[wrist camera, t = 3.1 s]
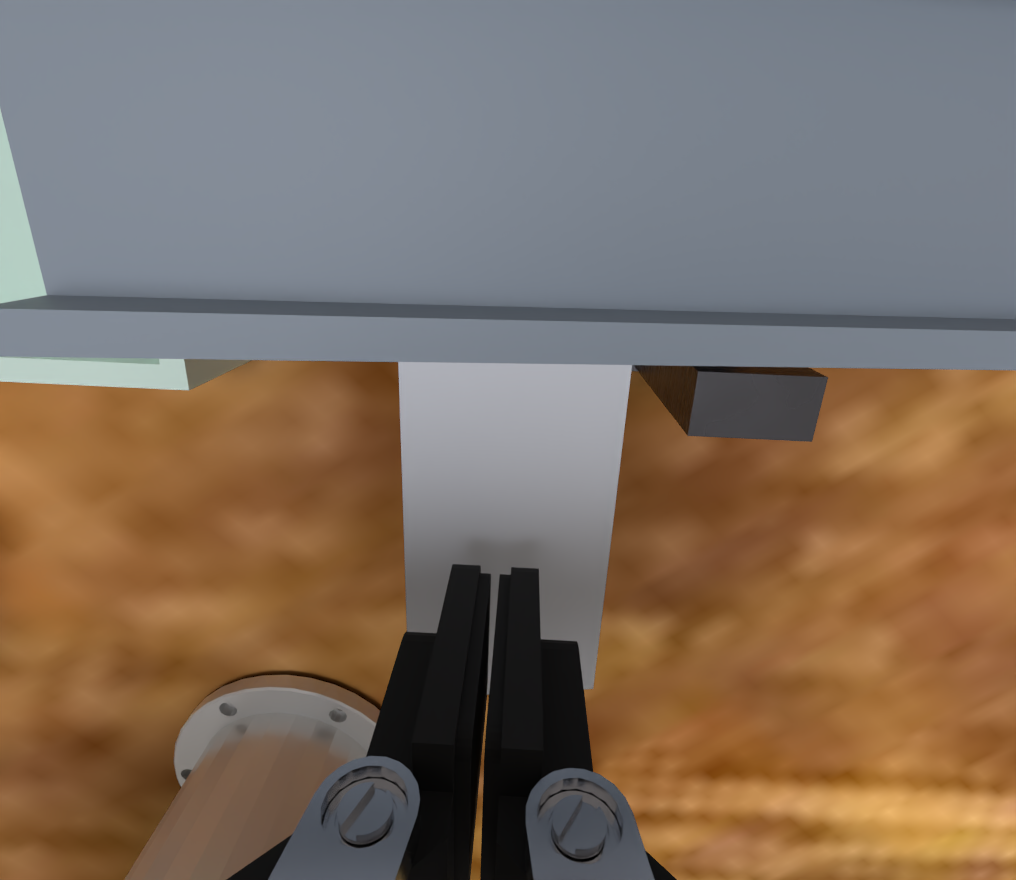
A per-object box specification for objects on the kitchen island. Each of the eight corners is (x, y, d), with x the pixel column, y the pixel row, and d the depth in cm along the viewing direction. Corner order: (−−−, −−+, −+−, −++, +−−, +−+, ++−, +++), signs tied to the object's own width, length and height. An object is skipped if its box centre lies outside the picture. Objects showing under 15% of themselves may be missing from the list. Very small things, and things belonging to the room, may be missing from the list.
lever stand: (726, 370, 22) (849, 458, 14) (600, 364, 22) (644, 448, 14) (800, -37, 17) (1055, -283, 9) (640, -42, 18) (744, -290, 9)
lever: (1058, 552, 20) (1256, 658, 15) (194, 576, 17) (89, 723, 12) (1290, 40, 15) (1720, -53, 10) (68, -75, 11) (-224, -308, 6)
